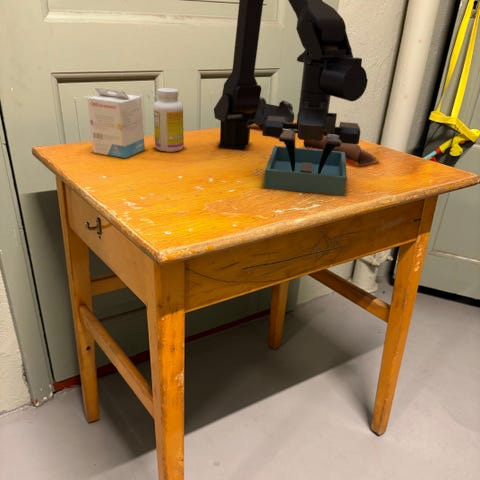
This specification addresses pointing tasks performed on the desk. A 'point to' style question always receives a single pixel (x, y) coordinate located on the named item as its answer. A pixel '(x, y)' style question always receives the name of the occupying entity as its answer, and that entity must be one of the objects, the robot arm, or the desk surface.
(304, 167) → the brown and grey bar
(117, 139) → the ink box
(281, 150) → the cutlery tray
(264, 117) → the game controller
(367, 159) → the sunglasses case
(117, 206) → the desk surface
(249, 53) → the robot arm
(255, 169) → the desk surface
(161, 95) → the supplement bottle
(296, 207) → the desk surface
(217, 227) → the desk surface
